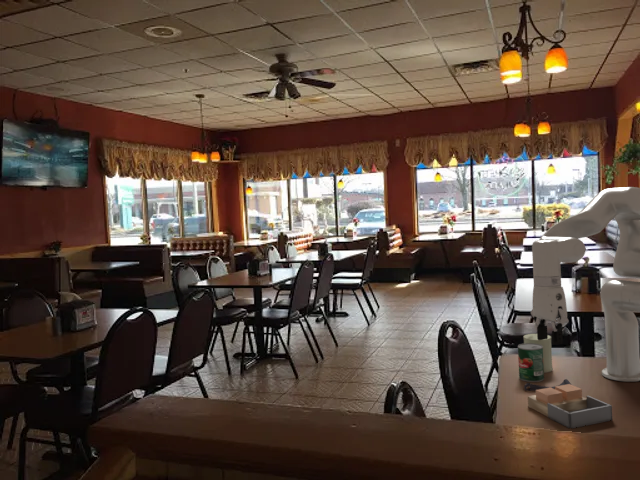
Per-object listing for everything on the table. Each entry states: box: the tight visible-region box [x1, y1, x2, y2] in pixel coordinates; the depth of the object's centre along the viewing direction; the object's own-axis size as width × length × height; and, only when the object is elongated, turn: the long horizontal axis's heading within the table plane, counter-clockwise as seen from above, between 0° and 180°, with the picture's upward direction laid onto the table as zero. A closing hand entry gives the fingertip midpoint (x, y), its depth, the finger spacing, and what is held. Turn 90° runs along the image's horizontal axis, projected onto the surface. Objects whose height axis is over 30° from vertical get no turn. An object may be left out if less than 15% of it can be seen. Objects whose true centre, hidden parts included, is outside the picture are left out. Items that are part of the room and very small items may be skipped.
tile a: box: [554, 383, 583, 401], centre depth 157 cm, size 5×5×2 cm
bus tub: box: [547, 395, 613, 429], centre depth 148 cm, size 14×8×4 cm, turn 106°
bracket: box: [523, 378, 573, 392], centre depth 172 cm, size 14×15×3 cm
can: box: [522, 333, 554, 374], centre depth 193 cm, size 9×9×12 cm
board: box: [527, 394, 587, 418], centre depth 157 cm, size 13×9×3 cm
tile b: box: [535, 386, 563, 404], centre depth 155 cm, size 5×5×2 cm
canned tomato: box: [517, 343, 545, 383], centre depth 183 cm, size 8×8×11 cm
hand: (549, 341), depth 163 cm, fingers open, 5 cm apart
